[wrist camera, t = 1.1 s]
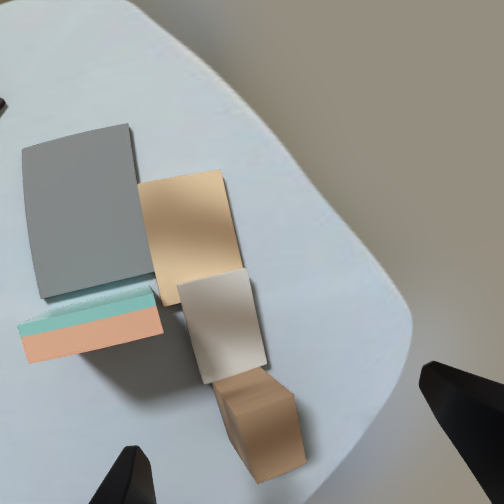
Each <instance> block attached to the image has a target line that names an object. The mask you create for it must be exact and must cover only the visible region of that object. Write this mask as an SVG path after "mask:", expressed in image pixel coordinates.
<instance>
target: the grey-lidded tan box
mask: <svg viewBox="0 0 504 504" xmlns="http://www.w3.org/2000/svg"><path fill="white" fill-rule="evenodd" d="M176 285H177V289H178V293H179V297H180V301H181V305H182V309H183V313H184V317H185V321H186V325H187V328H188V332H189V336H190V339H191V343H192V347H193V350H194V354H195V357H196V361H197V364H198V368H199V371H200V374H201V378H202V381H203V383H204V384H208V383H212V386H213V389H214V393H215V396H216V399H217V403H218V406H219V409H220V412H221V415H222V419H223V422H224V425H225V428H226V431H227V434H228V437H229V440H230V442H231V443H232V445H233V447H234V448H235V450H236V451H237V453H238V455H239V456H240V458H241V459H242V461H243V463H244V464H245V466H246V467H247V469H248V470H249V472H250V473H251V475H252V476H253V478H254V479H255V481H256V482H257V484H259V483H262V482H264V481H267V480H269V479H272V478H274V477H277V476H279V475H281V474H284V473H286V472H288V471H290V470H293V469H295V468H297V467H299V466H301V465H303V464H306V458H305V452H304V447H303V441H302V436H301V430H300V425H299V419H298V414H297V408H296V403H295V397H294V394H292V393H291V392H290V391H289V390H287V389H286V388H285V387H284V386H282V385H281V384H280V383H279V382H278V381H276V380H275V379H274V378H273V377H272V376H270V375H269V374H268V373H267V372H266V371H264V370H263V369H262V368H261V367H260V366H263V365H265V364H267V361H266V356H265V351H264V347H263V342H262V337H261V333H260V328H259V323H258V319H257V314H256V309H255V305H254V300H253V295H252V290H251V286H250V281H249V276H248V271H247V268H241V269H237V270H233V271H229V272H225V273H221V274H217V275H213V276H209V277H205V278H201V279H197V280H193V281H189V282H185V283H181V284H176Z"/></svg>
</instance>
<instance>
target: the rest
mask: <svg viewBox="0 0 504 504" xmlns="http://www.w3.org/2000/svg"><path fill="white" fill-rule="evenodd" d="M137 187H138V192H139V198H140V204H141V209H142V214H143V219H144V224H145V229H146V234H147V239H148V244H149V248H150V253H151V257H152V262H153V266H154V271H155V276H156V280H157V284H158V288H159V292H160V296H161V300H162V304H163V307H166V306H169V305H173V304H177V303H181V301H180V297H179V293H178V289H177V285H176V284H181V283H185V282H189V281H193V280H197V279H201V278H205V277H209V276H213V275H217V274H221V273H225V272H229V271H233V270H237V269H241V268H243V266H242V261H241V257H240V253H239V248H238V244H237V240H236V235H235V231H234V227H233V222H232V218H231V213H230V209H229V204H228V200H227V196H226V191H225V187H224V182H223V178H222V173H221V170H214V171H208V172H201V173H195V174H189V175H183V176H177V177H172V178H166V179H161V180H155V181H150V182H145V183H140V184H137Z"/></svg>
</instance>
